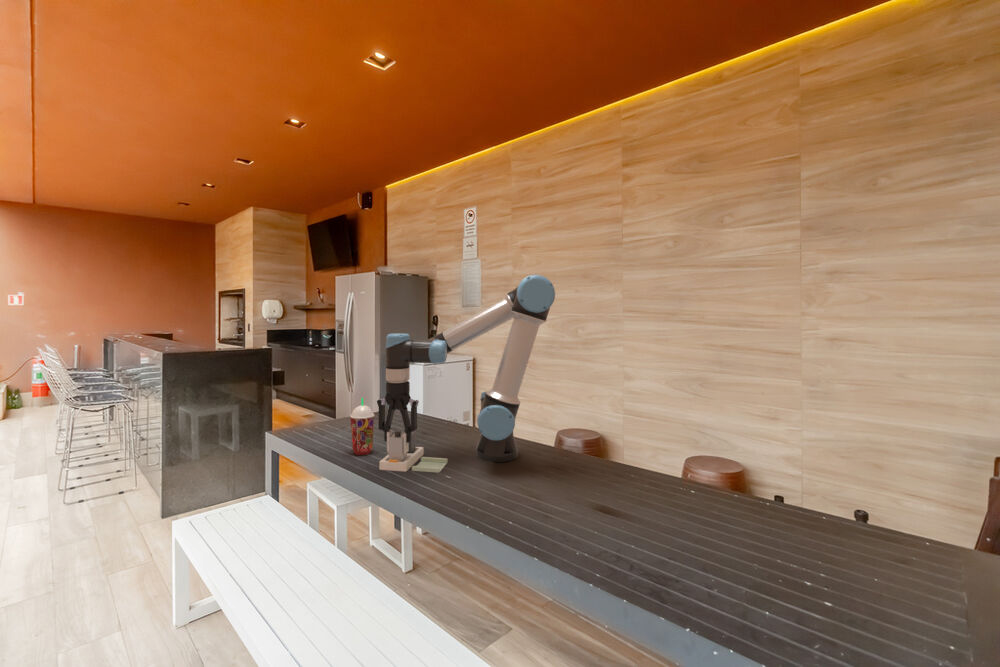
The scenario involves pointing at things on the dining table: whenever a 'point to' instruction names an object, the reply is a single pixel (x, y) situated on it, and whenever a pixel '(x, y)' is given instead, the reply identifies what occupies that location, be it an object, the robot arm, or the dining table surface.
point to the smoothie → (362, 429)
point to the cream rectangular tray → (412, 458)
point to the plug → (396, 447)
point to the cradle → (430, 464)
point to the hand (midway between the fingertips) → (397, 451)
